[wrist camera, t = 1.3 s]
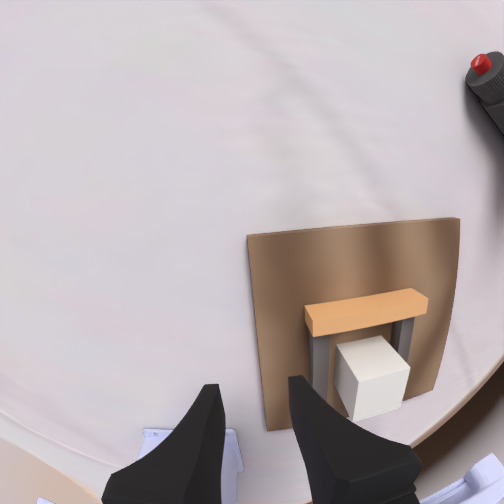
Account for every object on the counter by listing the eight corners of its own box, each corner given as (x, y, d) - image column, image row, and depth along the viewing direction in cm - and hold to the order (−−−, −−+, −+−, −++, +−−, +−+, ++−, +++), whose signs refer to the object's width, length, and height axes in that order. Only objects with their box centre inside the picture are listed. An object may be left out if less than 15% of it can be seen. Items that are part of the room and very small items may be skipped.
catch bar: (304, 320, 20) (312, 337, 17) (304, 305, 20) (312, 320, 17) (409, 301, 20) (426, 313, 18) (411, 287, 20) (428, 298, 17)
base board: (266, 424, 23) (268, 442, 21) (246, 234, 19) (248, 241, 17) (428, 384, 24) (439, 397, 21) (452, 217, 20) (471, 220, 18)
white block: (333, 383, 21) (352, 422, 17) (336, 344, 21) (358, 381, 16) (375, 373, 22) (400, 407, 17) (381, 335, 21) (410, 367, 16)
